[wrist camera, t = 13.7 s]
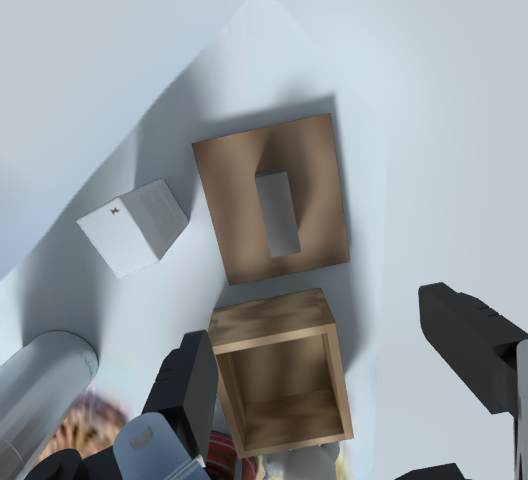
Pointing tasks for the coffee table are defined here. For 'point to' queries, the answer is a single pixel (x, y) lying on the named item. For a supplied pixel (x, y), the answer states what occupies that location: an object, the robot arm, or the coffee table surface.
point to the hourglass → (227, 460)
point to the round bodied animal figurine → (303, 463)
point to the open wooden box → (280, 373)
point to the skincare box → (135, 227)
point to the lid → (275, 199)
